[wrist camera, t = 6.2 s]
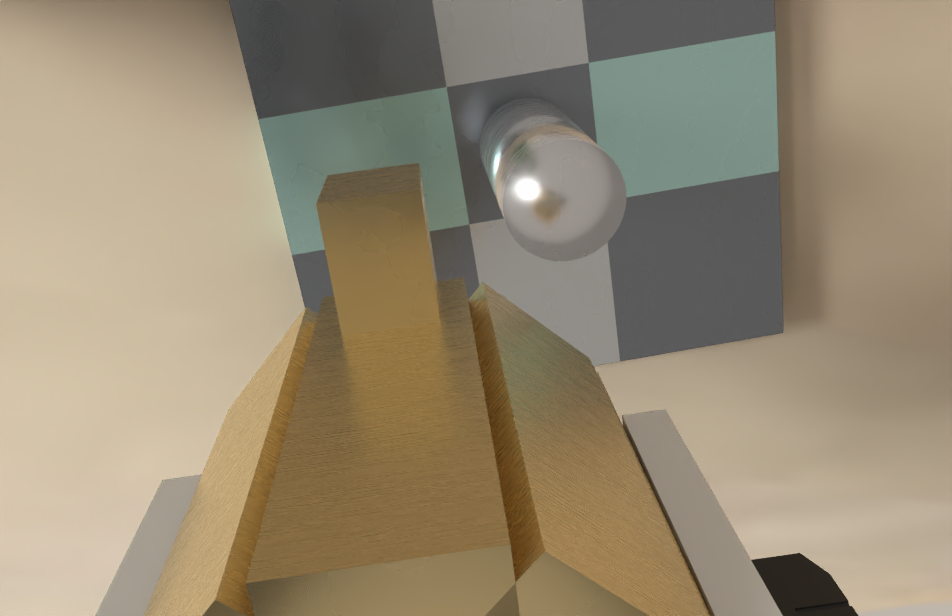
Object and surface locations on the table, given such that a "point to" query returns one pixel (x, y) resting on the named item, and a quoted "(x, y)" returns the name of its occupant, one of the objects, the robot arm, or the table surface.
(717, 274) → the post base
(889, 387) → the table surface
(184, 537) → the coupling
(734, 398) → the table surface
